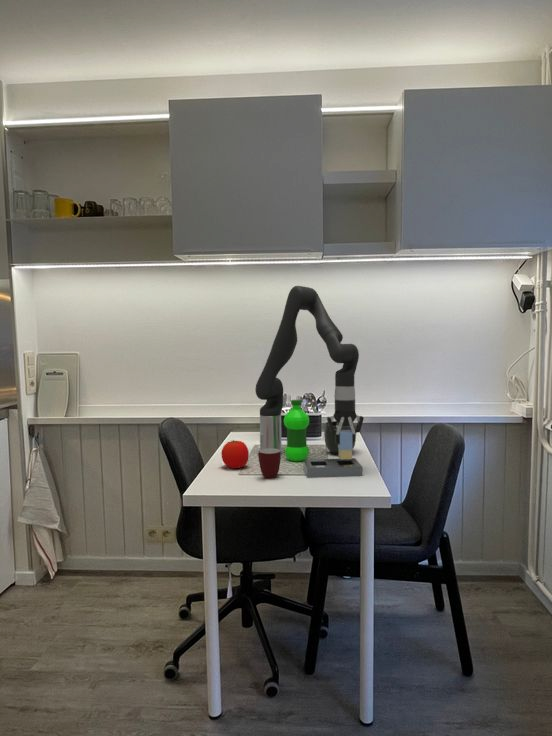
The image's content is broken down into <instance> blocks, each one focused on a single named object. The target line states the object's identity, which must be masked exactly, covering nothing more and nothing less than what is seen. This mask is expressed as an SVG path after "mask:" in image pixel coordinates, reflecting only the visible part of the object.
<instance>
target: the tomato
mask: <svg viewBox="0 0 552 736" xmlns="http://www.w3.org/2000/svg"><path fill="white" fill-rule="evenodd" d="M220 454H221V459H222V462H223V463H224V465H225V466H226V467H228V468H231V469H238V468H243V467H244V466H245V465H246V464H247V463H248V462H249V449H248V447H247V444H245V443H244V441H241V440H234V439H233V440H230V441H227V442H226V443H225V444H224V445H223V446H222V449H221V453H220Z"/></svg>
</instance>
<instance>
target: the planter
mask: <svg viewBox="0 0 552 736" xmlns="http://www.w3.org/2000/svg"><path fill="white" fill-rule="evenodd" d="M332 424H333V428H334V430H336V425H337V421H336V420H333V422H332ZM353 426H354V429H356V426H357V424H356V423H355V422H353ZM341 430H350V428H349V426H347V425H345V426H342V427H341ZM323 434H324V435H323V436H324V444H325V447H326V449H327V450H328V451H329V452H330V453H331V454H332V455H335V456H339V448H338V444H337V443H336V441H335V433H332V432H331V431H330V428H329V425H328V422H327V421H326V422H324V424H323ZM356 439H357V433H356V434H355V443H353V444H352V451H353V450H354V448H355V445H356V442H357V441H356Z"/></svg>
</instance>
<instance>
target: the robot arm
mask: <svg viewBox="0 0 552 736" xmlns="http://www.w3.org/2000/svg"><path fill="white" fill-rule="evenodd" d="M283 310H284V311H283V314H282V318H281V319H280V323H279V324H280V325H279V327H278V329H277V333H276V334H275V337H274V340H273V343H272V346H271V348H270V349H271V350H270V352H269V354H268V357H267V360H266V361H265V365H264V367H263V369H262V371H261V373H260V374H259V377H258V380H257V381H256V384H255V395H256V396H257V398H258V399H259V400H263V401H266V402H265V403H264V405H263V406H261V407H260V408H259V425H260V426H259V427H260V428H259V450H261V449H268V448H273V449H279V450H280V451H281V455H282V453H283V452H282V447H283V446H282V444H283V443H282V409H283V408H284V407H283V406H284V386H283V382H282V380H281V379H280V378H278V377H277V376H278V374H279V373H280V371H281V370H282V369H283V368H284V366H285V365H286V364H287V363H288V362H289V361H290V359H291V358H292V356H293V354H294V352H295V349H296V346H297V344H298V334H297V333H298V332H297V325H296V323H297V320H298V319H297V318H298V315H299V313H300V310H301V311H307V312H309V313H310V314H311V315H312V316H313V318H314V320H315V329H316V331H317V333H318V335H319V337H320V338H321V339H322V340H323V342H324V343H325V345H326V349H327V351H328V353H329V354H328V355H329V357H330V359H331V360H332V361H333V362H334V363H335V364H342V367H341V369H337V370H336V371H335V375H334V382H335V383H334V385H335V388H334V397H333V398H334V413H333V415H330V416H327V417H326V422H328V425H329V428H330V431H331V432H332V433H335V441H336V443H337V444H338V445H339V444H340V435H339V433H340V430H341V427H342V426H345V425H347V426H349V428H350V431H352V444H353V443H355V444H356V442H355V434H356V435H357V433H361V429H362V426H363V422H364V419H365V417H363V415H358V414H357V413H356V387H355V374H356V370H357V366H358V362H359V357H360V354H359V349H358V347H357V346H356V344H354V343H342V341H343V339H344V335H343V333H342V332H341V330H339V328H338V327H337V326H336V324H335V323H334V322H333V320H332V318H331V317H330V315H329V314H328V311H327V310H326V308H325V306H324V303H323V302H322V299H321V297H320V296H319V294H318V293H317V291H316V290H315V289H314V288H312V287H308V286H303V285H295V286H293V287H292V288H291V289H290V290H289V292H288V295H287V299H286V302H285V306H284V309H283ZM334 419H335V420H334ZM355 420H356V421H357V424H356V429H354V426H353V423H354V422H355ZM333 421H337V425H336V430H334V428H333V424H332V422H333Z"/></svg>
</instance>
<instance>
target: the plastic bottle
mask: <svg viewBox="0 0 552 736" xmlns="http://www.w3.org/2000/svg"><path fill="white" fill-rule="evenodd" d="M302 403H303V401H302V399H292V400H290V405H291V407H292V408H291V409H290V410H289V411H288V412H287V413H286V414H285V415H284V418H283V425H284V427H285V428H286V447H285V449H284V455H285V457H286V458H287V459H288V460H289V461H291V462H303V460H307V458H308V456H309V453H310V449H309V447H308V445H307V428H308V426H309V425H310V417H309V415H308V414H307V413H306V412H305V411H304V410H303V409H302V408H301V406H302Z"/></svg>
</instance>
